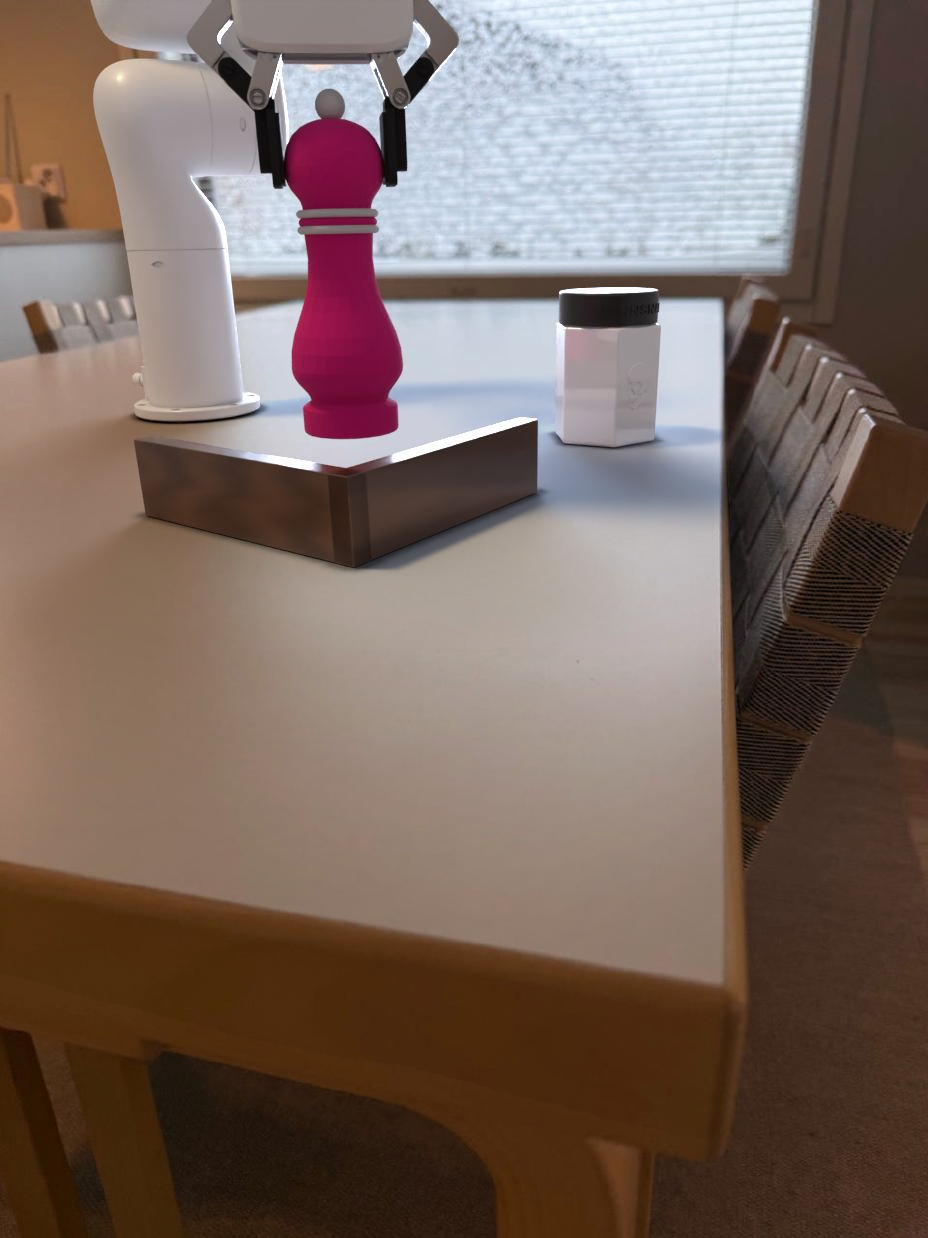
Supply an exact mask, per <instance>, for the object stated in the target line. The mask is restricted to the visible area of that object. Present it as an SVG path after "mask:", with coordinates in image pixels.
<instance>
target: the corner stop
mask: <svg viewBox="0 0 928 1238" xmlns="http://www.w3.org/2000/svg"><path fill="white" fill-rule="evenodd" d="M133 445H134V451H135V458H136V463H137V469H138V475H139V477H138V478H139V482H140V488H141V495H142V501H143V509H144V515H145V516H147V517H151V518H153V519H158V520H162V521H163V520H164V521H167V522H171V523H175V524H179V525H183V526H187V527H191V528H195V529H199V530H203V531H208V532H211V533H215V534H218V535H223V536H227V537H231V538H235V539H239V540H243V541H246V542H251V543H255V544H259V545H263V546H266V547H267V546H268V547H271V548H275V549H279V550H284V551H286V552H287V551H288V552H291V553H295V554H299V555H303V556H308V557H311V558H316V559H319V560H324V561H327V562H332V563H335V564H339V565H343V566H347V567H351V568H356V567H358V566H360V565H363V564H365V563H368V562H370V561H373V560H376V559H377V558H380V557H382V556H385V555H387V554H390V553H392V552H395V551H397V550H400V549H403V548H404V547H407V546H409V545H412V544H414V543H416V542H419V541H422V540H424V539H426V538H429V537H431V536H434V535H436V534H438V533H441V532H443V531H446V530H449V529H451V528H454V527H456V526H458V525H461V524H464V523H465V522H468V521H471V520H473V519H476V518H477V517H480V516H482V515H485V514H487V513H490V512H493V511H494V510H497V509H501V508H502V507H504V506H507V505H509V504H512V503H514V502H516V501H519V500H521V499H524V498H526V497H529V496H531V495H533V494H536V493H538V477H539V476H538V475H539V474H538V472H539V471H538V470H539V468H538V466H539V465H538V464H539V462H538V461H539V419H537V418H529V417H517V418H513V419H509V420H506V421H502V422H499V423H495V424H493V425H488V426H485V427H482V428H478V429H475V430H472V431H468V432H465V433H462V434H458V435H455V436H451V437H447V438H444V439H441V440H437V441H434V442H430V443H427V444H424V445H420V446H417V447H413V448H410V449H406V450H403V451H400V452H396V453H393V454H389V455H386V456H383V457H379V458H376V459H372V460H368V461H365V462H362V463H358V464H355V465H352V466H348V467H343V466H336V465H330V464H325V463H318V462H312V461H307V460H301V459H294V458H289V457H283V456H278V455H271V454H265V453H260V452H254V451H247V450H241V449H236V448H229V447H225V446H224V447H223V446H218V445H213V444H207V443H200V442H195V441H189V440H181V439H175V438H171V437H164V436H159V435H154V434H153V435H147V436H143V437H139V438H138V437H137V438H134V439H133Z"/></svg>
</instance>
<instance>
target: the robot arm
mask: <svg viewBox="0 0 928 1238" xmlns="http://www.w3.org/2000/svg"><path fill="white" fill-rule="evenodd" d="M90 4H91V8H92V11H93V14H94V17H95V19H96V22H97V25H98V27H99V28H100V30H101V31H102V33H103V35H104V36H105V37H106V38H107V39H108V40H110V41H111V42H113V43H114V44H116V45H119V46H122V47H124V48H129V49H133V50H137V51H138V50H139V51H148V52H158V53H169V54H170V53H171V54H184V55H185V54H187V55H196V56H198V57H199V59H200V60H202V61H203V62H196V61H192V60H179V59H164V58H163V59H162V58H130V59H129V58H128V59H123V60H119V61H115V62H114V63H111V64H110V65H107V67H105V68H104V69H103V70H102V71H101V72H100V73H99V75H97V78H96V80H95V83H94V86H93V93H92V94H93V95H92V103H93V110H94V111H93V112H94V116H95V120H96V125H97V129H98V133H99V135H100V138H101V142H102V145H103V149H104V153H105V155H106V158H107V162H108V167H109V170H110V173H111V177H112V180H113V185H114V189H115V195H116V199H117V204H118V209H119V215H120V219H121V226H122V231H123V239H124V245H125V251H126V256H127V263H128V270H129V278H130V284H131V290H132V295H133V302H134V303H133V304H134V309H135V310H134V311H135V316H136V323H137V329H138V336H139V342H140V350H141V356H142V362H143V365H141V366H140V371H141V372H135V373H134V374H133V375H132V376H131V381H132V384H133V385H134V386H136V387H141V388H143V391H144V398H143V399H140V400H138V401H136V402H135V403H134V405H133V408H134V409H133V410H134V415H135V416H136V417H138V418H139V419H144V420H149V421H157V422H194V421H195V422H196V421H197V422H198V421H209V420H210V421H211V420H218V419H225V418H226V419H227V418H232V417H237V416H242V415H246V414H249V413H253V412H255V411H256V410H257V411H258V410H259V408H261V400H260V399H261V398H260V396H259V395H257V394H256V393H252V392H248V391H244V383H243V372H242V366H241V355H240V345H239V338H238V328H237V319H236V312H235V311H236V310H235V301H234V293H233V285H232V284H233V283H232V275H231V266H230V256H229V249H228V242H227V241H228V239H227V234H226V229H225V225H224V222H223V221H222V219H221V216H220V214H219V213H218V211H217V209H216V207H214V205H213V204H212V203H211V202H210V201H209V199H208V198H207V196H206V195H205V194H204V193H203V192H202V191H201V189H200V188H199V187H198V186H197V184H196V183H195V182H194V180H193V179H195V178H205V177H244V178H245V177H248V178H249V177H251V178H252V177H253V178H254V177H265V176H268V175H271V179H272V181H271V182H272V187H273V189H275V190H284V187H287V181H286V179H285V172H284V154H285V149H286V146H287V143H288V141H289V139H290V126H289V117H288V116H289V115H288V109H287V102H286V94H285V89H284V82H283V76H282V67H283V65H285V66H286V65H287V66H294V65H295V66H361V65H362V66H364V65H366V66H367V65H370V67H371V70H372V73H373V75H374V77H375V80H376V83H377V85H378V88H379V90H380V93H381V95H382V97H383V101H382V111H381V112H380V115H379V118H378V123H379V124H378V125H379V139H380V140H379V141H380V143H379V144H380V149H381V153H382V157H383V162H384V178H383V183H382V186H385V187H386V188H395V187H396V186H398V183H399V182H398V172H399V173H400V172H402V173H403V172H408V146H407V145H408V143H407V120H406V109H407V108H408V107H409V106H410V105H411V104H412V102H413V101H414V100H415V99H416V98H417V97H418V95H419V94H420V93H421V91H422V90H423V89H424V88H425V87H426V85H427V84H428V83H429V81H431V79H432V78H433V77H434V76H435V74H436V73H437V72H438V71H439V70H440V69H441V68H442V66H443V65H444V64H445V63H446V62H447V60H448V59H449V58H450V57H451V56H452V55H453V53H454V52H455V51H456V50H457V48H458V46H459V44H460V37H459V34H458V33H457V32H456V30H455V29H454V27H452V26H451V24H450V23H449V22H448V21H447V20H446V19H445V18H444V16H443V15H442V14H441V13H440V11H438V9H437V8H436V7H435V5H433V3H432V2H431V1H430V0H90ZM414 26H415V27H416V28H417V29H418V31H420V32H421V34H422V35H423V36H424V37H425V40H426V41H427V47H426V48H425V50H424V51H423V52H422V54H421V55H420V56H419V57H418V58H417V59H416V60H415V62H414V63H413V64H412V65H411V66H410V68H408V70H407V71H406V72H405V73H404V74H403V71H402V69H401V67H400V65H399V62H398V60H399V59H400V58H401V57H402V56H404V55H405V53H406V52H407V50H408V49H409V46H410V41H411V40H412V37H413V33H414Z"/></svg>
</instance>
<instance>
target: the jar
mask: <svg viewBox="0 0 928 1238" xmlns="http://www.w3.org/2000/svg"><path fill="white" fill-rule="evenodd" d="M660 305H661V304H660V290H658V289H657V288H651V287H648V288H647V287H585V288H569V289H563V290H560V291H559V293H558V323H556V337H555V338H556V342H555V346H556V347H555V349H556V350H555V400H554V401H555V402H554V403H555V406H554V408H555V411H554V432H555V434H556V435H557V436H558V437H559V439H560V440H561V442H562V443H564V444H567V445H579V446H592V447H604V448H617V447H624V446H628V445H629V446H630V445H634V444H640V443H641V444H642V443H645V442H650V441H653V440H654V439H655V437H656V419H657V405H658V404H657V401H658V386H659V385H658V384H659V369H660V368H659V367H660V352H661V351H660V350H661V334H662V333H661V331H662V326H661V324H659V323H658V321H659V320H658V319H659V312H660Z"/></svg>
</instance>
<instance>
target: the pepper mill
mask: <svg viewBox="0 0 928 1238" xmlns="http://www.w3.org/2000/svg"><path fill="white" fill-rule="evenodd" d="M314 109H315V112H316V114H317V116H318V117H319V118H318V119H315V120H311V121H309V122H306V123H305V124H303V125H301V126H299V127H298V128H297V129H296V130H295V131H294V132H293V133H292V134H291V135H290V136H289V141H288V143H287V146H286V149H285V154H284V172H285V179H286V185H287V186H288V188H289V189H290V191H291V192H292V194H294V196H295V198H297V199H298V201H299V202H300V205H301V208H302V209H299V210H297V211H296V213H295V216H296V218H297V219H299V220H298V225H299V227H298V228H297V233H298V234H299V235H300V236H304V242H305V250H306V257H307V282H306V283H307V284H306V289H305V296H304V300H303V304H302V308H301V311H300V314H299V317H298V320H297V324H296V328H295V330H294V334H293V338H292V339H293V340H292V344H291V345H292V346H291V372H292V376H293V378H294V380H295V381H296V383H297V384H298V385H299V386H300V387H301V388H302V389H303V390H304V391H305V392H306V393H307V395H308V396H309V398H310V400H309V401H308V402H306V403H305V404H304V405H303V406H302V414H303V426H304V432H305V433H306V434H307V435H308V436H310V437H312V438H313V437H314V438H319V439H327V440H328V439H329V440H360V439H361V440H362V439H370V438H377V437H381V436H382V437H383V436H386V435H390V434H392V433H394V432H396V431H397V430H398V429H399V405H398V402H397V401H396V400H395V399H392V398H390V397H389V395H390V392H391V391H392V389H393V388H394V386H395V385H396V384H397V382H398V380H399V379H400V377H401V376H402V374H403V371H404V359H403V358H404V357H403V353H402V352H403V351H402V346H401V342H400V340H399V339H400V338H399V336H398V332H397V330H396V328H395V326H394V323H393V321H392V319H391V317H390V314H389V313H388V310H387V308H386V305H385V304H384V301H383V299H382V296H381V294H380V290H379V286H378V282H377V278H376V272H375V265H374V258H373V257H374V234H377V233H379V232H380V227H379V225H377V224H378V219H377V217H378V216H379V211H378V210H377V208H376V209H375V208H372V205H373V201H374V199H375V197H376V196H377V194H378V193H379V192H380V190H381V187H382V186H383V178H384V162H383V157H382V153H381V146H380V145H379V144H378V141H377V139H376V138H375V136H373V134H372V133H371V132H370V131H369V130H368V129H367V128H366V127H364V126H363V125H360V124H359V123H357V122H355V121H353V120H349V119H346V118H343V116H344V114H345V112H346V103H345V98H344V97H343V95H342V94H341V93H340V92H339V91H338V90H337V89H334V88H324V89H322V90H321V91H319V92H318V94H317V95H316V98H315V100H314Z"/></svg>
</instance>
